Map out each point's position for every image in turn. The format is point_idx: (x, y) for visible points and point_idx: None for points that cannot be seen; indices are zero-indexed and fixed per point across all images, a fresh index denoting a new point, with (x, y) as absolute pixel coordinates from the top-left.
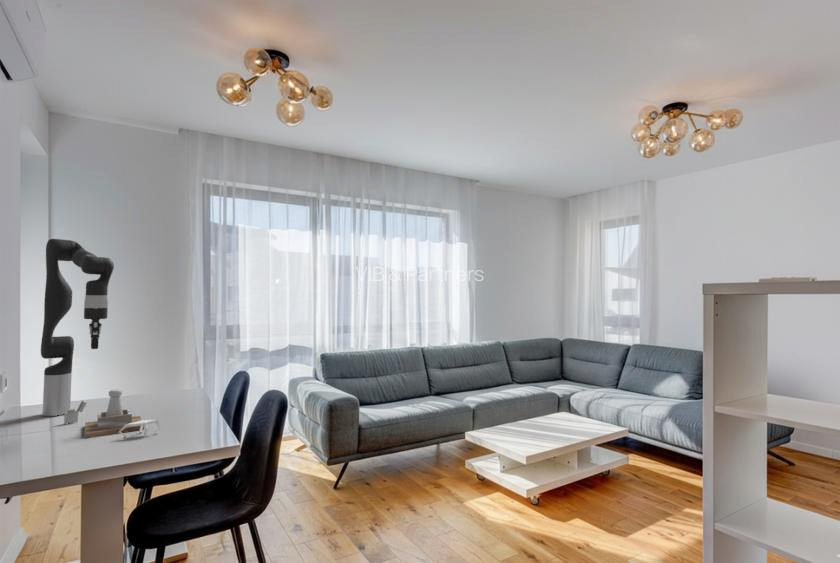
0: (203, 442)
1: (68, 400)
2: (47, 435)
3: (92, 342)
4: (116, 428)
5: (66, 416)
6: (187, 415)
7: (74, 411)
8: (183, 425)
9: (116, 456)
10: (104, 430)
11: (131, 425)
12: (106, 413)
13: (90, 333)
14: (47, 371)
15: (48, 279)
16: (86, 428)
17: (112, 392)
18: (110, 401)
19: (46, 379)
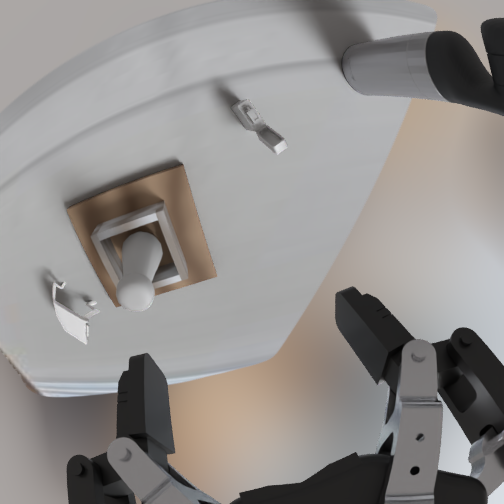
0: (48, 376)
1: (380, 92)
2: (118, 106)
3: (132, 410)
4: (98, 262)
5: (235, 107)
6: (219, 344)
7: (252, 123)
8: (137, 352)
9: None
10: (85, 243)
11: (55, 309)
12: (135, 241)
13: (151, 496)
14: (439, 35)
15: None
16: (113, 193)
17: (116, 293)
18: (126, 269)
19: (418, 35)
